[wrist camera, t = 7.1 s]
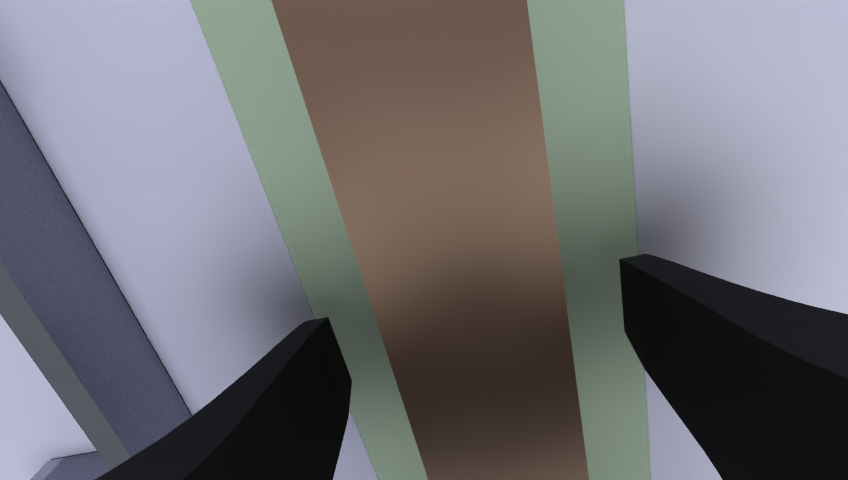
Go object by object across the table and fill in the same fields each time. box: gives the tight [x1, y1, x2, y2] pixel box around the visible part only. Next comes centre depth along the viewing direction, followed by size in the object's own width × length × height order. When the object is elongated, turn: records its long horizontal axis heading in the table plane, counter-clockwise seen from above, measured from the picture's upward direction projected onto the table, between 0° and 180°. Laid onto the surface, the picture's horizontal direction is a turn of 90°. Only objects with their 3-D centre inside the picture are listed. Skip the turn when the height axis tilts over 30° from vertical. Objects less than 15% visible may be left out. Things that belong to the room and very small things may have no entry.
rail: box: [271, 0, 589, 480], centre depth 10 cm, size 18×4×4 cm, turn 13°
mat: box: [190, 0, 651, 480], centre depth 12 cm, size 20×9×1 cm, turn 13°
